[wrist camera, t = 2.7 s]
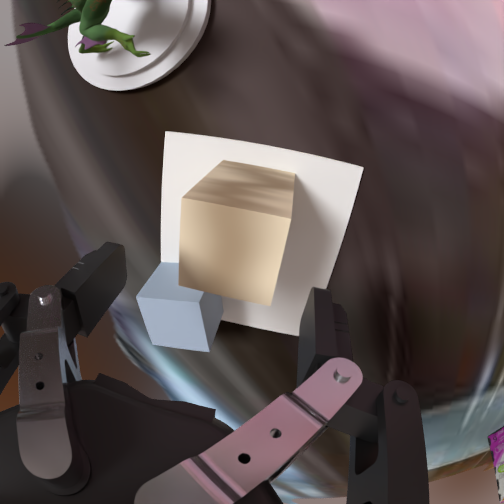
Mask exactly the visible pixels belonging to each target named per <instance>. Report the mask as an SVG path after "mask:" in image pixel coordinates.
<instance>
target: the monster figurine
mask: <svg viewBox="0 0 504 504" xmlns="http://www.w3.org/2000/svg"><path fill="white" fill-rule="evenodd" d="M58 1H59V0H58ZM58 1H57V2H58ZM67 2H71V3H72V6H71V7H70V8H68V9H67V10H69V9H71V8H73V7H75V9H74V10H72V11H71V12H69V13H67V14H66V15H64V16H63V17H61V18H60V19H58V20H57V21H55V22H53V23H52V24H49V25H48V26H44V25H42V24H37V23H25V24H22V25H19V26H24V27H25V31H24V32H23V33H22V34H20V35H18V36H17V37H16V38H17V39H16V41H14V42H12V43H10V44H7V45H5V46H10V45H16V44H21V43H25V42H28V41H31V40H33V39H36V38H38V37H40V36H42V35H44V34H47V33H50V32H54V31H57V30H60V29H63V28H65V27H67V26H69V31H68V48H69V53H70V57H71V60H72V62H73V65H74V66H75V68H76V70H77V71H78V73H79V74H80V75H81V76H82V77H83V78H84V79H85V80H86V81H88V82H89V83H91V84H92V85H94V86H97V87H99V88H102V89H106V90H116V91H121V90H132V89H137V88H141V87H145V86H147V85H150V84H152V83H155V82H157V81H159V80H160V79H162V78H164V77H165V76H167V75H168V74H170V73H171V72H172V71H174V70H175V69H176V68H178V67H179V66H180V65H181V64H182V63H183V62H184V61H185V60H186V59H187V58H188V56H189V55H190V54H191V52H192V51H193V50H194V49H195V47H196V46H197V44H198V42H199V41H200V39H201V37H202V35H203V33H204V31H205V28H206V26H207V23H208V19H209V15H210V9H211V0H69V1H67ZM67 2H65V3H67ZM65 3H64V4H65ZM64 4H63V5H64ZM60 7H61V6H60ZM60 7H59V8H60ZM67 10H65V11H64V12H66V11H67ZM64 12H63V13H64ZM63 13H62V14H63ZM62 14H61V15H62Z"/></svg>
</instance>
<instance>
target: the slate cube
mask: <svg viewBox="0 0 504 504" xmlns="http://www.w3.org/2000/svg"><path fill="white" fill-rule="evenodd" d="M178 278H179V263H171V262H161V263H160V265H159V266H158V267H157V269H156V270H155V271H154V273H153V274H152V275H151V277H150V278H149V280H148V281H147V282H146V284H145V285H144V286H143V288H142V289H141V291H140V292H139V293H138V295H137V296H136V298H137V301H138V304H139V307H140V310H141V313H142V316H143V319H144V322H145V325H146V328H147V330H148V333H149V336H150V339H151V341H152V344H153V345H160V346H167V347H174V348H181V349H189V350H197V351H205V352H210V349H211V346H212V344H213V341H214V338H215V335H216V332H217V329H218V326H219V323H220V321H221V318H222V315H223V312H224V311H223V304H222V297H221V295H216V294H212V293H208V292H203V291H199V290H195V289H191V288H187V287H182V286H178Z"/></svg>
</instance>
